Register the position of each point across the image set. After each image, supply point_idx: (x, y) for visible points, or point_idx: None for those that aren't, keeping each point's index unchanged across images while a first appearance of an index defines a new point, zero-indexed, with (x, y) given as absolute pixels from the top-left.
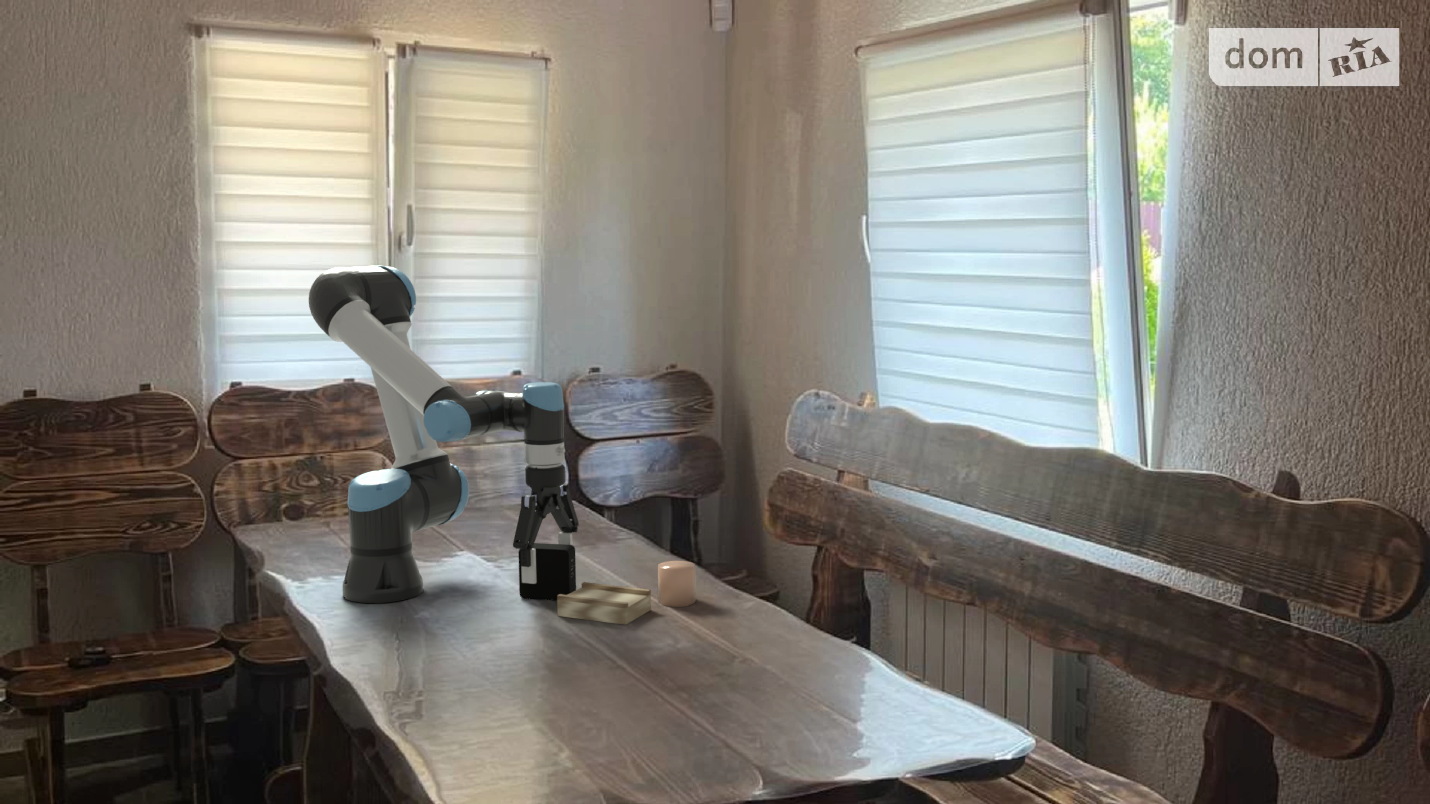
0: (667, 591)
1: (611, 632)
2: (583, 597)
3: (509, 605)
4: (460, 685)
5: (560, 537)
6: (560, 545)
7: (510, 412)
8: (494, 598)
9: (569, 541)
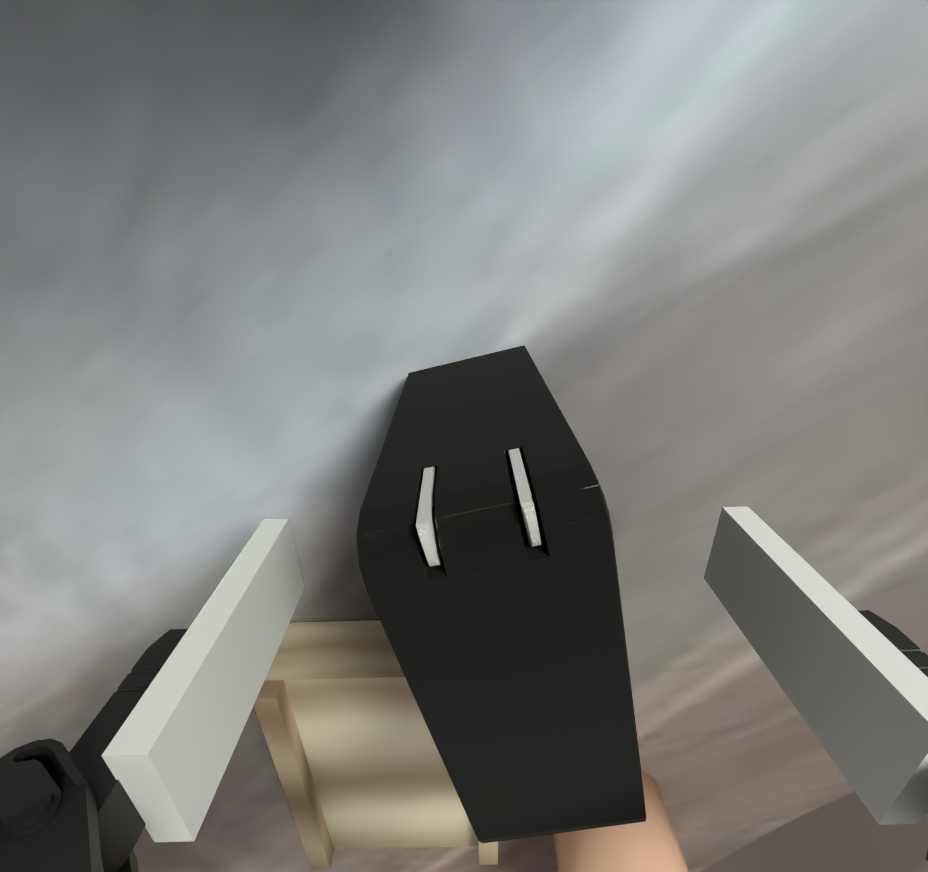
0: (558, 853)
1: (250, 785)
2: (294, 771)
3: (287, 386)
4: None
5: (884, 701)
6: (596, 783)
7: None
8: (346, 226)
9: (820, 736)
